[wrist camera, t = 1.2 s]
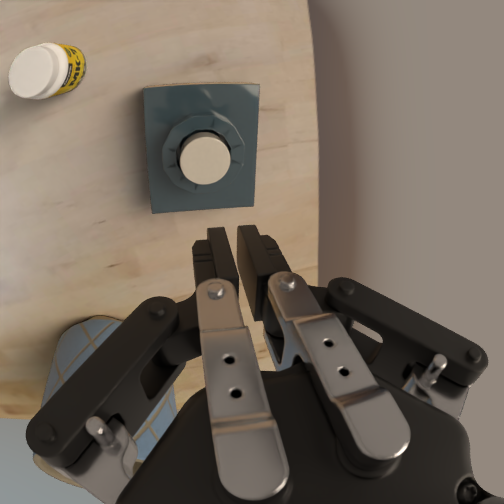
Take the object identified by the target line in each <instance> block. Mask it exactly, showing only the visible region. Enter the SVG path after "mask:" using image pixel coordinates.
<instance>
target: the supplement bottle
mask: <svg viewBox="0 0 504 504" xmlns="http://www.w3.org/2000/svg"><path fill="white" fill-rule="evenodd" d="M86 71H87V60H86V57H85V55H84V53H83V52H82V51H81V50H80V49H79V48H77V47H74V46H69V45H63V44H56V43H42V44H39V45H37V46H33V47H29V48H26V49H25V50H23V51H22V52H20V53H19V54H18V55H17V56H16V58H15V59H14V61H13V62H12V64H11V67H10V70H9V77H8V78H9V85H10V88H11V90H12V91H13V92H14V93H15V94H16V95H17V96H19V97H21V98H31V99H45V98H48V97H52V96H55V95H59V94H63V93H67V92H69V91H71V90H73V89H75V88H76V87H77V86H78V85H79V84H80V83H81V82H82V80H83V79H84V77H85V75H86Z"/></svg>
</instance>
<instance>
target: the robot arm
mask: <svg viewBox="0 0 504 504" xmlns="http://www.w3.org/2000/svg"><path fill="white" fill-rule="evenodd" d="M192 253H193V267H194V278H195V286H196V290H195V292H194V294H193V295H192V296H191V297H189V298H188V299H186V300H184V301H181V302H178V303H175V302H174V301H173V300H172V299H170V298H167V297H161V296H158V297H152V298H149V299H147V300H145V301H144V302H142V303H141V304H140V305H139V306H138V307H137V308H136V309H135V310H134V311H133V312H132V313H131V314H130V315H129V316H128V317H127V318H126V319H125V320H124V321H123V322H122V323H121V324H120V325H119V326H118V327H117V328H116V329H115V330H114V331H113V333H112V334H111V335H110V336H109V337H108V338H107V339H106V340H105V341H104V342H103V343H102V344H101V345H100V346H99V347H98V348H97V349H96V350H95V351H94V352H93V353H92V354H91V355H90V356H89V357H88V358H87V360H86V361H85V362H84V363H83V364H82V365H81V366H80V367H79V368H78V369H77V370H76V371H75V372H74V373H73V374H72V375H71V377H70V378H69V379H68V380H67V381H66V382H65V383H64V384H63V385H62V386H61V387H60V388H59V389H58V391H57V392H56V393H55V394H54V395H53V396H52V397H51V398H50V399H49V400H48V402H47V403H46V404H45V405H44V406H43V407H42V408H41V409H40V410H39V412H38V413H37V414H36V415H35V416H34V417H33V418H32V419H31V421H30V422H29V424H28V426H27V429H26V440H27V443H28V445H29V447H30V449H31V450H32V451H33V452H34V453H36V454H37V455H38V456H39V457H41V458H42V459H43V460H44V461H45V462H46V463H47V464H48V465H49V466H51V467H52V468H54V469H55V470H56V471H58V472H59V473H61V474H62V475H64V476H65V477H67V478H69V479H71V480H73V481H74V482H76V483H77V484H79V485H80V486H82V487H83V488H84V489H86V490H87V491H88V492H89V493H91V494H92V495H93V496H95V497H96V498H98V499H99V500H100V501H102V502H103V503H104V504H504V498H501V497H497V496H494V495H492V494H490V493H488V492H486V491H485V490H483V489H482V488H481V487H480V486H479V485H478V484H477V482H476V480H475V478H474V475H473V471H472V466H471V459H470V443H469V438H468V435H467V432H466V430H465V428H464V427H463V426H462V424H461V423H460V422H459V421H458V420H459V417H460V415H461V412H462V409H463V406H464V403H465V400H466V397H467V394H468V390H469V388H470V387H471V386H472V385H473V384H474V382H475V381H476V380H477V379H478V378H479V376H480V375H481V374H482V373H483V371H484V370H485V369H486V367H487V366H488V357H487V355H486V353H485V351H484V350H483V349H482V348H481V347H480V346H479V345H477V344H475V343H474V342H472V341H470V340H468V339H466V338H464V337H462V336H460V335H459V334H457V333H455V332H453V331H451V330H449V329H447V328H445V327H443V326H442V325H440V324H438V323H436V322H434V321H432V320H430V319H428V318H426V317H424V316H422V315H421V314H419V313H417V312H415V311H413V310H411V309H409V308H407V307H405V306H403V305H401V304H399V303H397V302H395V301H394V300H392V299H389V298H388V297H386V296H384V295H382V294H380V293H378V292H376V291H374V290H372V289H370V288H368V287H366V286H364V285H362V284H360V283H358V282H356V281H354V280H352V279H349V278H343V277H340V278H335V279H332V280H331V281H330V282H329V284H328V287H327V288H325V287H315V286H310V285H307V284H306V282H305V280H304V279H303V278H302V277H301V276H299V275H298V274H295V273H292V271H291V269H290V267H289V265H288V264H287V262H286V260H285V258H284V256H283V255H282V252H281V250H280V249H279V247H278V245H277V243H276V241H275V240H274V239H272V238H271V237H270V236H268V235H260V234H259V232H258V230H257V227H256V226H255V225H243V226H238V228H237V265H238V270H239V273H240V277H241V280H242V283H243V286H244V290H245V293H246V296H247V299H248V302H249V306H250V309H251V312H252V315H253V318H254V322H255V321H263V324H264V329H263V336H264V339H265V342H266V344H267V347H268V350H269V352H270V355H271V358H272V361H273V363H274V366H275V369H276V371H260V369H259V365H258V361H257V358H256V354H255V350H254V346H253V342H252V338H251V334H250V331H249V328H248V326H244V322H243V318H242V314H241V310H240V305H239V301H238V300H239V275H238V272H237V268H236V265H235V262H234V258H233V255H232V252H231V248H230V245H229V242H228V238H227V235H226V231H225V228H224V227H216V228H207V240H196V242H195V243H194V245H193V247H192ZM354 321H357V322H359V323H361V324H362V325H364V326H366V327H368V328H370V329H371V330H373V331H375V332H377V333H378V334H380V336H381V337H382V339H383V343H379V342H377V341H375V340H374V339H372V338H370V337H368V336H366V335H365V334H363V333H361V332H359V331H357V330H356V329H354V328H352V326H353V324H354ZM201 355H202V360H203V369H204V377H205V385H206V387H205V388H203V389H201V390H199V391H198V392H196V393H195V394H194V395H193V396H191V397H190V398H189V399H188V401H187V402H186V403H185V404H184V405H183V407H182V408H181V410H180V411H179V412H178V414H177V415H176V417H175V418H174V420H173V421H172V422H171V424H170V425H169V427H168V428H167V430H166V431H165V432H164V434H163V435H162V437H161V438H160V439H159V441H158V442H157V444H156V445H155V446H154V448H153V449H152V451H151V452H150V453H149V455H148V456H147V457H146V459H145V460H144V462H143V463H142V464H141V466H140V467H139V468H138V470H137V471H136V473H135V474H134V475H133V466H134V463H135V461H136V459H137V456H138V447H137V444H136V442H135V441H134V439H133V437H134V435H135V434H136V433H137V431H138V430H139V429H140V427H141V426H142V425H143V423H144V422H145V421H146V419H147V418H148V416H149V415H150V414H151V412H152V411H153V410H154V408H155V407H156V406H157V404H158V403H159V402H160V400H161V399H162V397H163V396H164V395H165V393H166V392H167V391H168V389H169V388H170V387H171V385H172V384H173V382H174V381H175V380H176V378H177V377H178V376H179V374H180V373H181V371H182V370H183V369H184V367H185V365H186V361H189V360H191V359H194V358H196V357H199V356H201Z"/></svg>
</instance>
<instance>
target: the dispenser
mask: <svg viewBox="0 0 504 504" xmlns="http://www.w3.org/2000/svg"><path fill="white" fill-rule="evenodd" d="M259 94H260V85H259V84H256V83H246V82H207V83H182V84H166V85H154V86H147V87H145V88H143V98H144V123H145V141H146V156H147V168H148V180H149V190H150V200H151V209H152V214H155V213H167V212H179V211H192V210H205V209H220V208H235V207H253V206H254V194H255V174H256V154H257V134H258V114H259ZM200 132H209V133H213V134H215V135H217V136H218V137H220V138H221V139H222V140H223V142H224V143H225V145H226V147H227V149H228V151H229V153H230V166H229V169H228V171H227V172H226V174H225V175H224V176H223V177H222V178H221V179H220V180H218V181H216V182H214V183H211V184H206V185H202V184H197V183H194V182H192V181H190V180H189V179H187V178H186V177H185V175H184V174H183V172H182V170H181V167H180V150H181V147H182V145H183V143H184V142H185V141H186V139H188V138H189V137H190V136H192V135H194V134H196V133H200Z"/></svg>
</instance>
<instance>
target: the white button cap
mask: <svg viewBox="0 0 504 504" xmlns="http://www.w3.org/2000/svg"><path fill="white" fill-rule="evenodd" d="M229 166H230V153H229V151H228V149H227V147H226V145H225V143H224V142H223V140H222V139H221V138H220V137H218V136H217V135H215V134H213V133H209V132H200V133H196V134H194V135H192V136H190V137H189V138H188V139H186V141H185V142H184V143H183V145H182V147H181V150H180V167H181V170H182V172H183V174H184V175H185V177H186V178H187V179H189V180H190V181H192V182H194V183H197V184H202V185H206V184H211V183H214V182H216V181H218V180H220V179H221V178H222V177H223V176H224V175H225V174H226V172H227V171H228V169H229Z"/></svg>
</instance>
